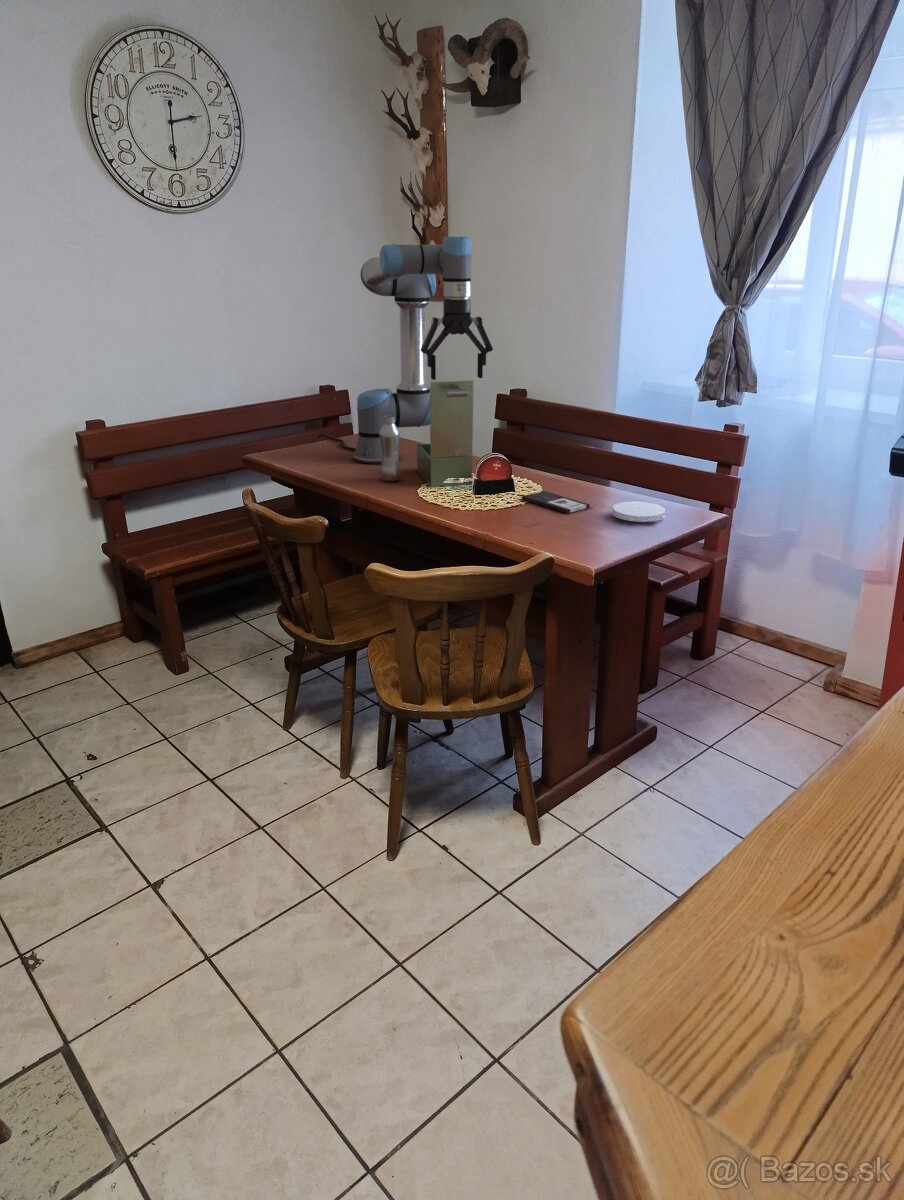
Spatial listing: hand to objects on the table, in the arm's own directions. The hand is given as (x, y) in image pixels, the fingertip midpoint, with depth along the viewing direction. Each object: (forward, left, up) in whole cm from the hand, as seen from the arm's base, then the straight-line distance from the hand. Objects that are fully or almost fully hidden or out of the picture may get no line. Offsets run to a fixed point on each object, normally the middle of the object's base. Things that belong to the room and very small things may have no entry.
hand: (456, 378), depth 230 cm
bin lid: (-8, 0, -13) cm, 15 cm away
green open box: (-18, 0, -33) cm, 38 cm away
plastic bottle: (-18, -17, -33) cm, 42 cm away
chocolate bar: (+19, +24, -33) cm, 45 cm away
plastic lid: (+37, +41, -33) cm, 64 cm away
